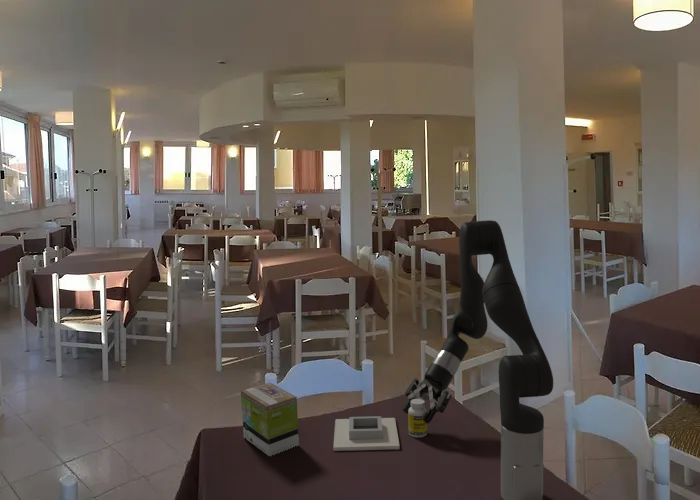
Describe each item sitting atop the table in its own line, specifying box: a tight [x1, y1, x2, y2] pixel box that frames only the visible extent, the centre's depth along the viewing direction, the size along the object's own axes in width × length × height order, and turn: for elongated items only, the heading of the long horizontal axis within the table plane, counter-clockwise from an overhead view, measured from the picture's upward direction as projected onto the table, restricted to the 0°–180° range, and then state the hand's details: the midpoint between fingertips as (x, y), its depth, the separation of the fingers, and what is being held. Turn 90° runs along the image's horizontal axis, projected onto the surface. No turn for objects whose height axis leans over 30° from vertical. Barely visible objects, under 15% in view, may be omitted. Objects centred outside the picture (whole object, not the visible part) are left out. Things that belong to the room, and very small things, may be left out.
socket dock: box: [333, 415, 401, 452], centre depth 161 cm, size 18×18×4 cm
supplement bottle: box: [407, 399, 428, 438], centre depth 160 cm, size 5×5×10 cm
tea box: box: [240, 382, 300, 457], centre depth 158 cm, size 15×10×15 cm, turn 39°
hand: (414, 417), depth 160 cm, fingers open, 8 cm apart
